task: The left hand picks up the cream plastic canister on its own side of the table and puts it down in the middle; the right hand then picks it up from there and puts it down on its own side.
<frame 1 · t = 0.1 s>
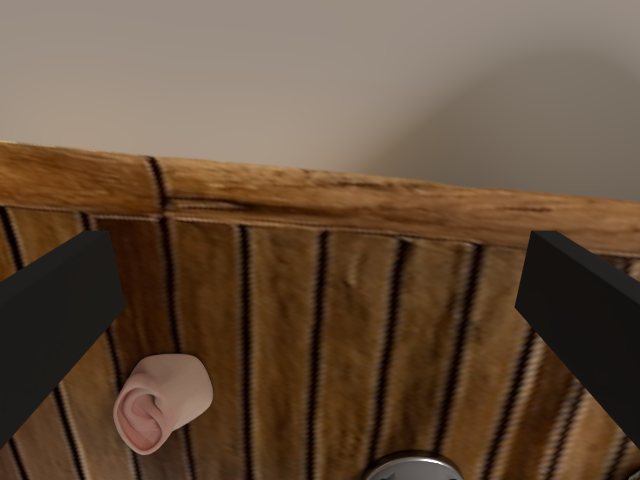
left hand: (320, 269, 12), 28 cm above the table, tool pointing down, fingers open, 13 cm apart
anatomical model: (167, 390, 50), on the table
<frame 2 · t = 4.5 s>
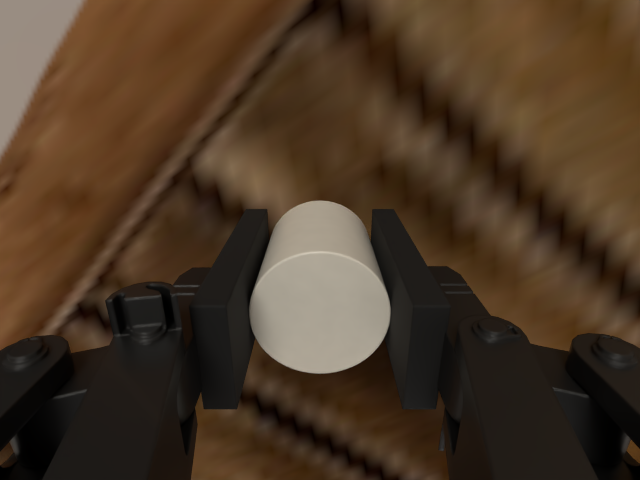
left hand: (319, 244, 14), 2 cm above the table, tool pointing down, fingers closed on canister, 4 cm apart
canister: (319, 248, 15), point 1 cm above the table, touching left hand
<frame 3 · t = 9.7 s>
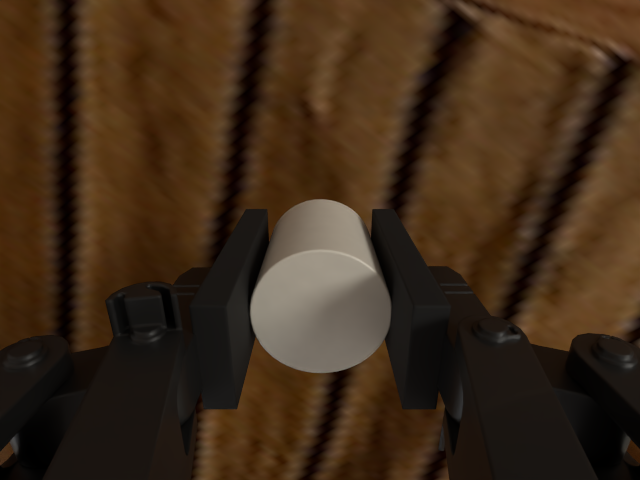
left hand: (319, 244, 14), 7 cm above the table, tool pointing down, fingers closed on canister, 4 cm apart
canister: (320, 247, 15), point 7 cm above the table, touching left hand
when the left hand's fingers open (0 cm above the table, at t = 14.9 s): canister stays where it is, on the table.
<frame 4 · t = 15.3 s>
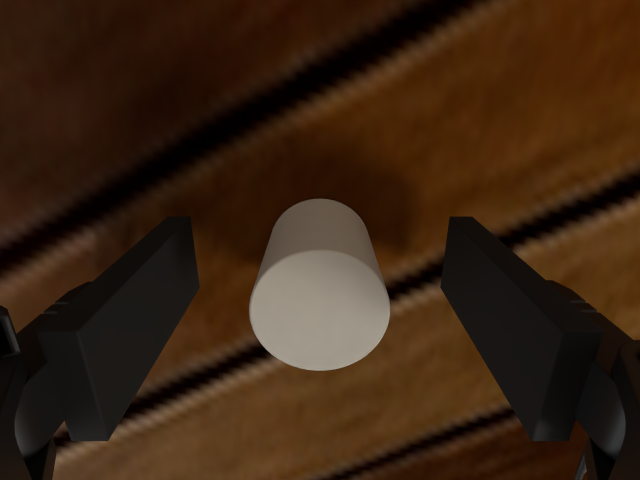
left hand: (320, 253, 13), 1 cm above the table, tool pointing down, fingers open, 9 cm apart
canister: (319, 246, 15), on the table
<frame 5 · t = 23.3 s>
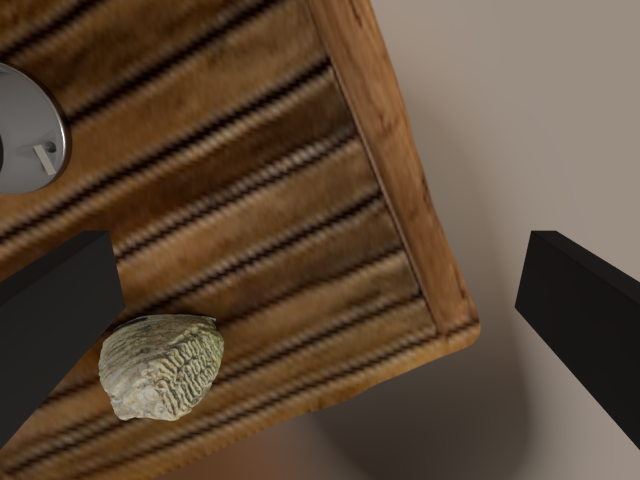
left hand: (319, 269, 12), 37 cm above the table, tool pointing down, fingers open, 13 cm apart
fossil: (171, 332, 58), on the table
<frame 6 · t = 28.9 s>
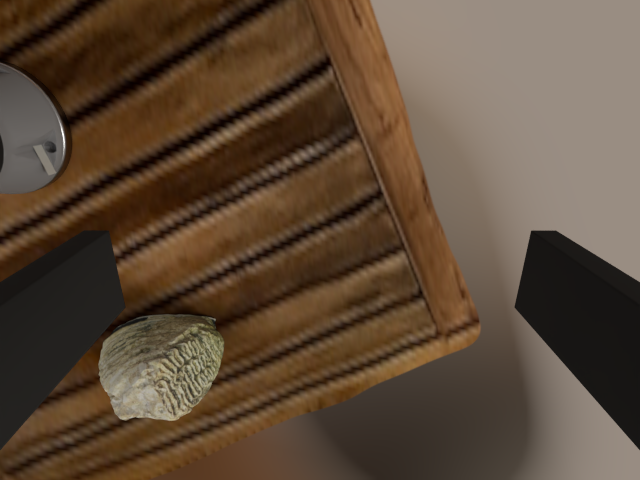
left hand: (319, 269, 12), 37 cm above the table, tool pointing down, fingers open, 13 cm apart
fossil: (171, 332, 58), on the table
when the right hand's fingers open (1 cm above the table, at t = 34.4 s): canister stays where it is, on the table.
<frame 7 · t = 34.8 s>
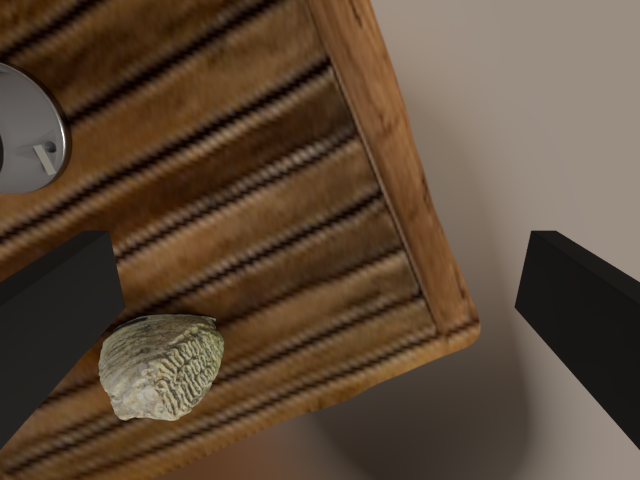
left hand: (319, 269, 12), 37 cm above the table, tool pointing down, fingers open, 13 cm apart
fossil: (171, 332, 58), on the table
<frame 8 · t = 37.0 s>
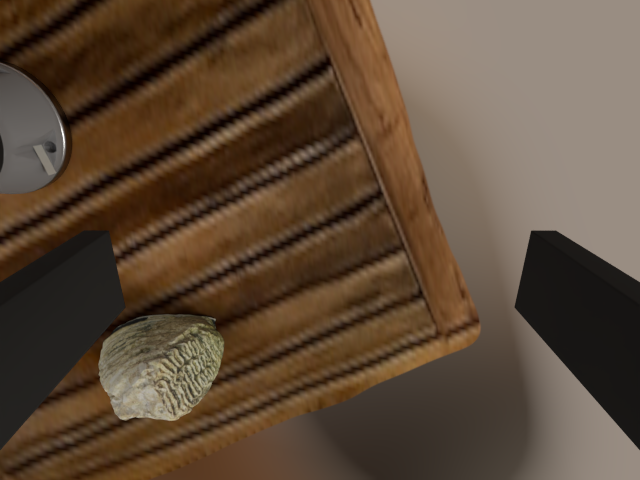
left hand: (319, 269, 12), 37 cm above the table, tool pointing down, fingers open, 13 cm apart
fossil: (171, 332, 58), on the table
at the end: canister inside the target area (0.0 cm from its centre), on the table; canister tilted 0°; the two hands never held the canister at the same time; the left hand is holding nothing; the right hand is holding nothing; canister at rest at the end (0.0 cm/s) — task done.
